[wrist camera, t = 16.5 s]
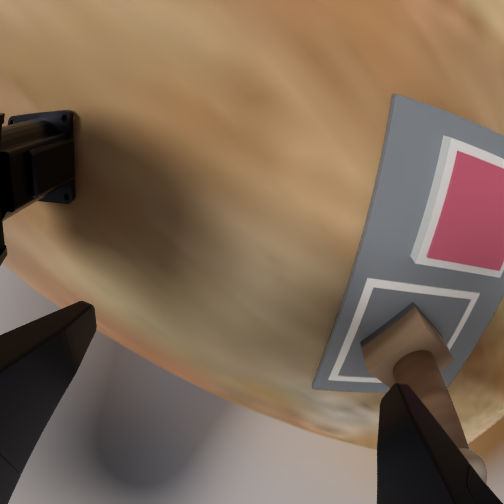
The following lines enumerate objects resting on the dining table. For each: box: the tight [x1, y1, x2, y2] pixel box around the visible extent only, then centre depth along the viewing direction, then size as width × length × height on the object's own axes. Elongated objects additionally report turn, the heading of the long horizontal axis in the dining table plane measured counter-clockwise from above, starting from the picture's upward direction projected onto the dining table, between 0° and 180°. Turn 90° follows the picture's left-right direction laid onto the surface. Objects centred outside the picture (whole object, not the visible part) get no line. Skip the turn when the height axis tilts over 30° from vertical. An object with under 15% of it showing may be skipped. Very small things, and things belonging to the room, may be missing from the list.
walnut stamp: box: [360, 302, 487, 484], centre depth 15 cm, size 5×5×15 cm
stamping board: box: [312, 94, 504, 393], centre depth 19 cm, size 14×23×2 cm, turn 173°
